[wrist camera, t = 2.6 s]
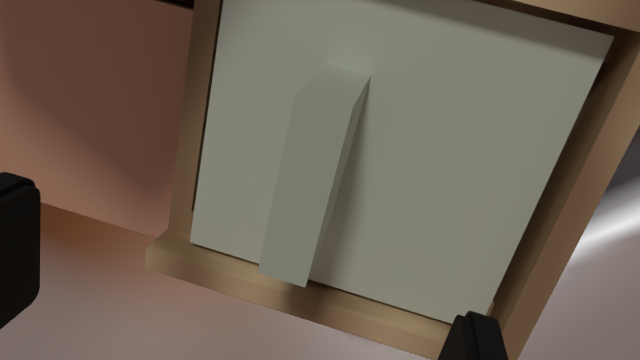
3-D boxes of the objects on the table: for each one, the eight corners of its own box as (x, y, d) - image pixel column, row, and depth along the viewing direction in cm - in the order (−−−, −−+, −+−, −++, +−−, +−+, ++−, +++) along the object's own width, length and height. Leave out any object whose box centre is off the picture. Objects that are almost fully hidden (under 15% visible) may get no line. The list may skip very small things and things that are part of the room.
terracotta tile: (199, 10, 22) (193, 10, 22) (172, 236, 27) (167, 241, 26) (-41, -55, 23) (-53, -55, 23) (-26, 174, 28) (-35, 178, 27)
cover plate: (604, 33, 17) (691, 59, 11) (475, 317, 22) (492, 430, 16) (241, -59, 18) (161, -75, 12) (199, 231, 23) (128, 310, 17)
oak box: (633, 0, 19) (700, 8, 14) (490, 309, 25) (504, 382, 20) (236, -98, 20) (182, -119, 16) (192, 217, 26) (144, 268, 22)
